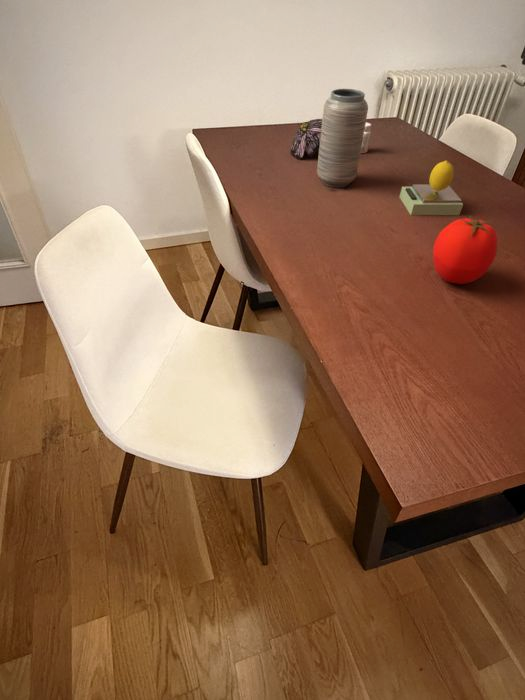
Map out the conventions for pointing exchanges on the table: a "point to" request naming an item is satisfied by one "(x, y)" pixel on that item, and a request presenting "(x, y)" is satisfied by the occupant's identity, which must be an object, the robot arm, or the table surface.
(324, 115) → the vase
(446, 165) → the lemon
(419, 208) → the scale
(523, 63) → the robot arm
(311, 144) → the decorative flower
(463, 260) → the tomato
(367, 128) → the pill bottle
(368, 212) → the table surface
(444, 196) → the scale pan
